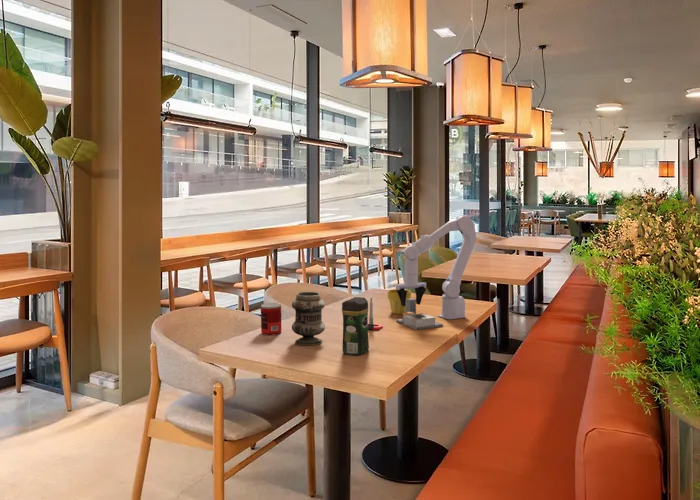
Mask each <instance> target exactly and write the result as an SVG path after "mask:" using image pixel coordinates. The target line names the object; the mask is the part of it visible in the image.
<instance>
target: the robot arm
mask: <svg viewBox="0 0 700 500" xmlns="http://www.w3.org/2000/svg"><path fill="white" fill-rule="evenodd" d="M475 226H476V224H475V223H474V221H473V219H472V218H471V217H470V216H468V215H464V214H463V215H462V214H461V215H457V216H456V217H454V218H452V219H450V220H449V221H447V222H446V223H445V224H444V225H442V226H441V227H439V228H438V229H437V230H435V231H434V232H432V233H431V234H430V235H429V234H424V235H423V234H422V235H420V238H419V239H417V240H416V241H415V242H413V241H412V242H411V245H408V246H406V247H405V249H404V251H403V254H404V256H405V258H404V279H403V280H404V283H400V284H399V283H398V284H395V289H396V291H397V293H398V295H399V298H400V301H401V305H402V306H405V305H406V295H407V291H405V290H409V289H414V291H415V299H416V305H418V306H419V305H421V303H422V299H423V297H424V295H425V293H426V292H427V291H426V290H427V282H425V281H424V282H419V263H418V260H419V259H418V258H419V257H420V255H422V254H423V253H425V252H427V251H428V250H429V249H431V248H432V247H434V245H435V242H436V241H437V240H439V239H441V238H442V237H444V236H446V235H447V234H448V233H450V232H457V231H458V232H460V235H461V236H462V238H463V240H462V243H461V246H460V247H459V251H458V254H457V256H456V258H455V261H454V263H453V266H452V268H451V271H450V273H449V274H448V276H447V278H446V279H445V280H444V281H443V283H442V285H441V289H442V292H443V294H442V296H441V299H442V301H441V305H442V306H441V314H437V317H440V318H443V319H445V320H456V319H464V318H466V317H467V316H466V300H465V298H464V297H463V296H461V295H459V294H460V293H461V284H462V277H463V274H464V272H465V271H466V267H467V264H468V262H469V260H470V258H471V254H472V253H473V252H472V251H473V249H474V247H475V245H476V242H477V239H478V238H477V233H476V228H475Z"/></svg>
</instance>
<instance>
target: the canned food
mask: <svg viewBox="0 0 700 500" xmlns="http://www.w3.org/2000/svg"><path fill="white" fill-rule="evenodd" d="M282 329H283V328H282V304H280V303H279V302H267V303H262V304H261V305H260V331H261V334H262V335H263V336H264V335H265V336H276V335H280V334H281V333H282Z"/></svg>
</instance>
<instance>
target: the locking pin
mask: <svg viewBox="0 0 700 500" xmlns="http://www.w3.org/2000/svg"><path fill="white" fill-rule="evenodd" d="M406 312H412V313H415V314H417V304H416V298H412V297H411V298H410V299H406Z"/></svg>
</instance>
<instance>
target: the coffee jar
mask: <svg viewBox="0 0 700 500" xmlns="http://www.w3.org/2000/svg"><path fill="white" fill-rule="evenodd" d="M341 312H342V313H341V314H342V352H343V353H344V354H346V355H349V356H354V355H357V356H358V355H362V354H365V353H366V352H368V351H369V349H370V342H369V330H368V323H369V316H368V315H369V302H368V300H367V299H366V298H365V297H361V296H353V297H352V298H349V299H347V300H344V301H342V303H341Z"/></svg>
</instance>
